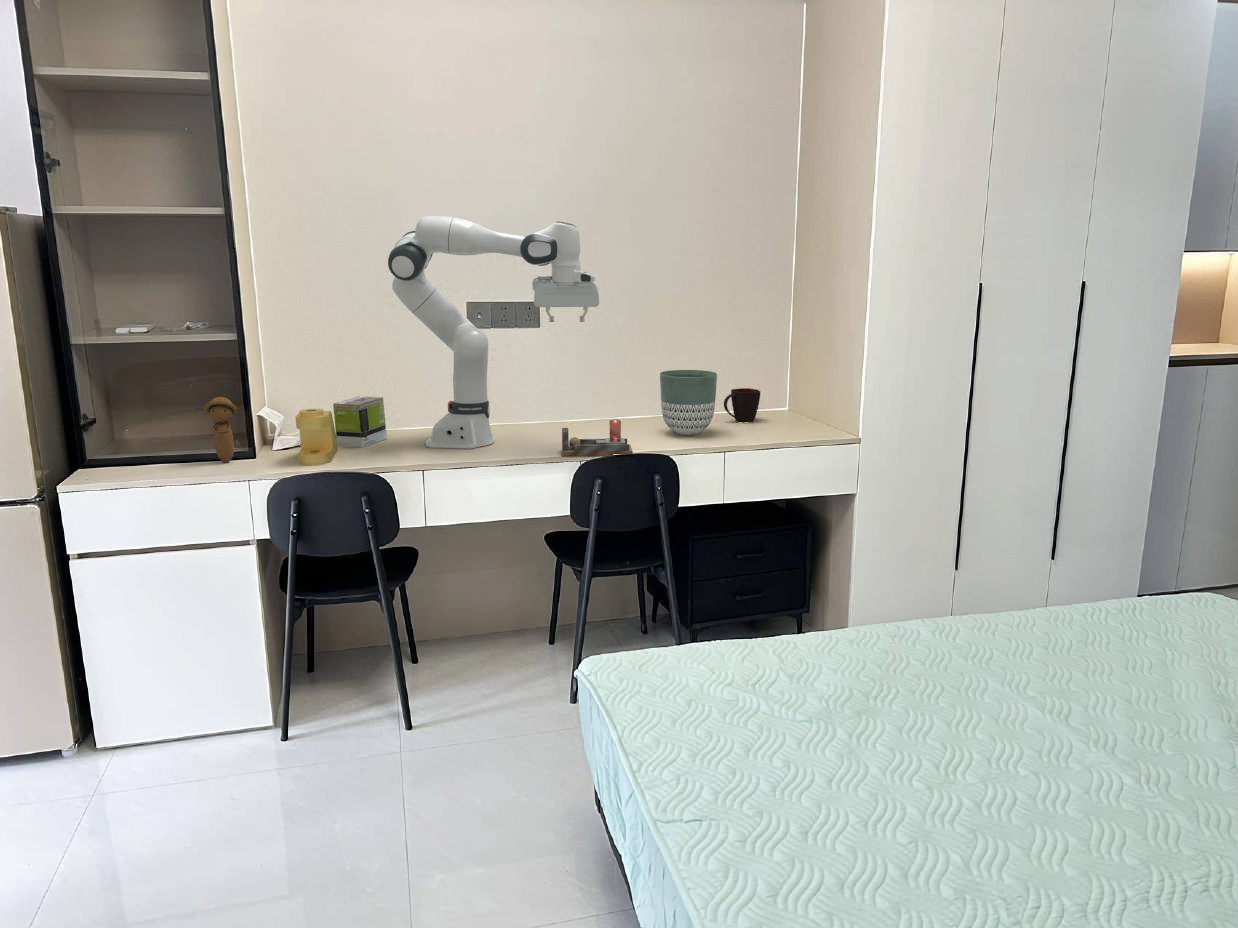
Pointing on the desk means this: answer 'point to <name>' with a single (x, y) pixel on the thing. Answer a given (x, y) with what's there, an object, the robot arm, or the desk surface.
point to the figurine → (222, 426)
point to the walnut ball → (574, 441)
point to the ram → (613, 434)
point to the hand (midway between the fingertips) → (566, 321)
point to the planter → (688, 400)
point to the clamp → (316, 437)
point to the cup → (743, 404)
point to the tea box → (359, 421)
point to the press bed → (592, 447)
